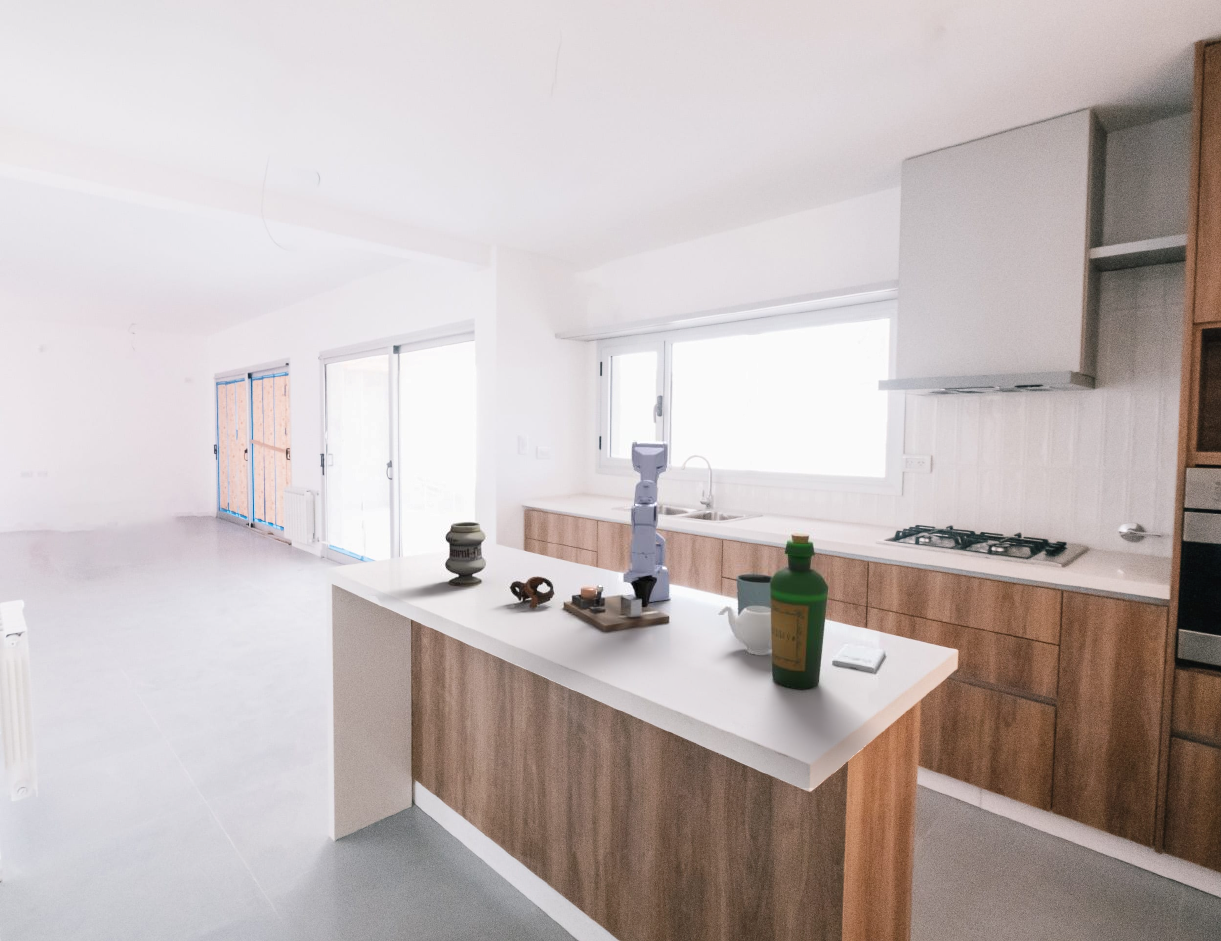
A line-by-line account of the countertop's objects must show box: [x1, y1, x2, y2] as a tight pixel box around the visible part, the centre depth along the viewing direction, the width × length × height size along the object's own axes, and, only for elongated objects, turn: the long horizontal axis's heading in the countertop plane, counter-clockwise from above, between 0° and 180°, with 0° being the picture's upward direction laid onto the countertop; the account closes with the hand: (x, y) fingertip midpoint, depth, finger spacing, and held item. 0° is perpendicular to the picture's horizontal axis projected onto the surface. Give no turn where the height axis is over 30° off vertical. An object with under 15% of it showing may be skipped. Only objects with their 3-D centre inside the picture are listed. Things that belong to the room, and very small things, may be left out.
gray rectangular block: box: [621, 594, 642, 618], centre depth 160 cm, size 3×5×4 cm, turn 29°
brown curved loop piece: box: [509, 576, 555, 609], centre depth 175 cm, size 12×10×8 cm
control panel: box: [563, 593, 670, 633], centre depth 166 cm, size 18×23×4 cm
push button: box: [580, 586, 597, 600], centre depth 170 cm, size 4×4×2 cm
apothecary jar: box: [444, 521, 487, 587], centre depth 198 cm, size 12×12×18 cm
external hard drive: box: [831, 643, 886, 674], centre depth 136 cm, size 2×8×12 cm
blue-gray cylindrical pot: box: [736, 573, 773, 617], centre depth 157 cm, size 10×10×12 cm
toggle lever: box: [593, 585, 604, 607], centre depth 163 cm, size 2×2×6 cm
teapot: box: [718, 605, 772, 656], centre depth 140 cm, size 10×20×9 cm, turn 49°
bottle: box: [770, 533, 829, 690], centre depth 123 cm, size 11×11×28 cm
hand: (642, 606), depth 162 cm, fingers closed
